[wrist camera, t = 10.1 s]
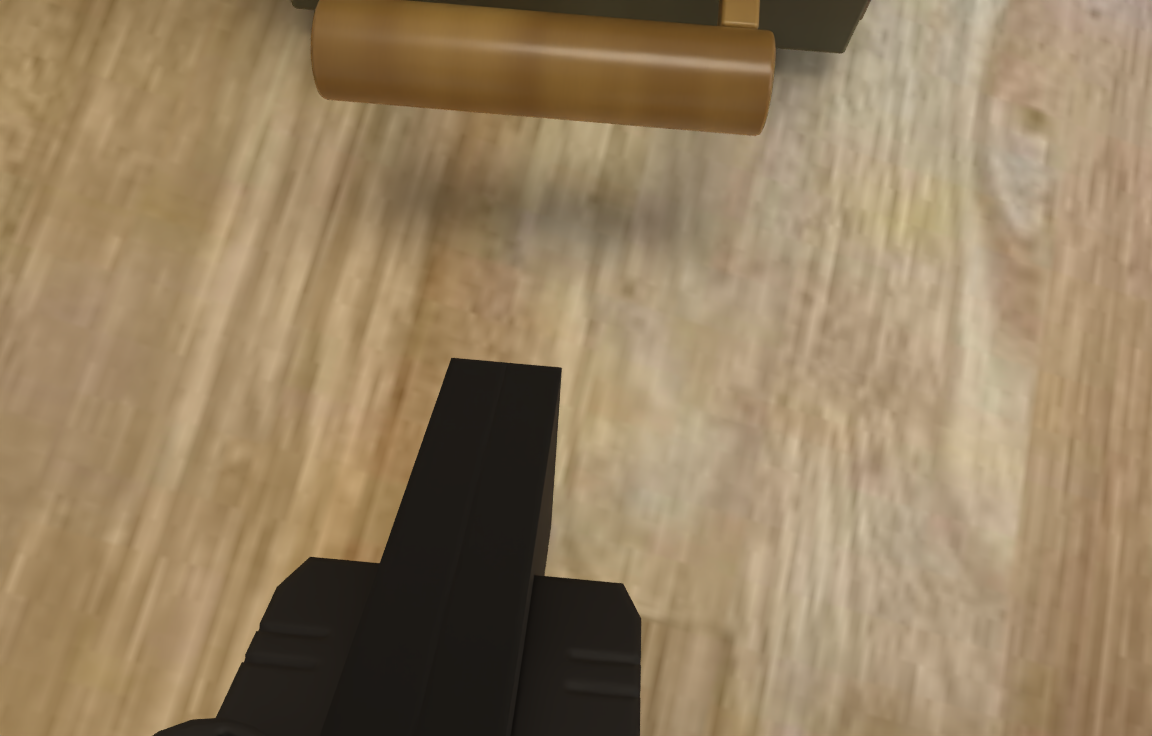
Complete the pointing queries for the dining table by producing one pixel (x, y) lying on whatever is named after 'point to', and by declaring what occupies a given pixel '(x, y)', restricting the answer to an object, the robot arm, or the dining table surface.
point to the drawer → (573, 56)
